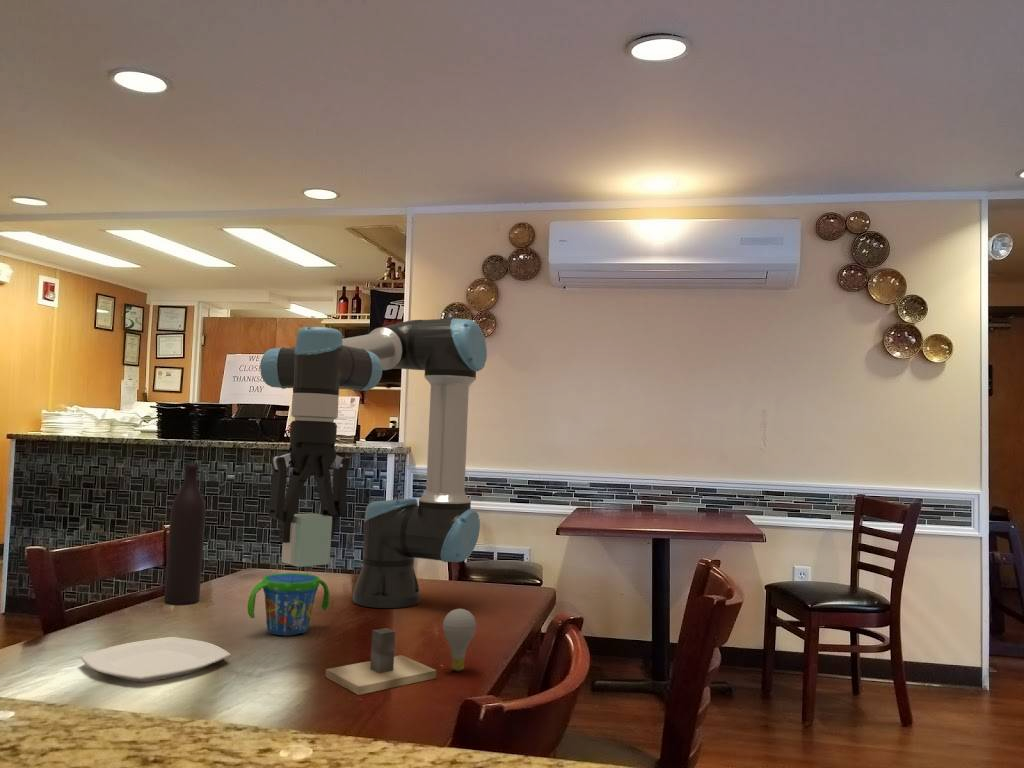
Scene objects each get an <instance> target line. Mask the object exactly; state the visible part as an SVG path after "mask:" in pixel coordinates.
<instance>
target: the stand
mask: <svg viewBox="0 0 1024 768" xmlns="http://www.w3.org/2000/svg"><path fill="white" fill-rule="evenodd" d="M371 631H372V632H371V647H370V648H371V649H370V660H367V661H363V662H362V661H361V662H357V663H352V664H346V665H342V666H341V665H340V666H337V667H331V668H326V669H325V678H327V679H328V680H330V681H331V682H334V683H335V684H338V685H339V686H341V687H343V688H345V689H347V690H349V691H350V692H352V693H354V694H356V695H358V696H360V695H365V694H369V693H375V692H379V691H383V690H387V689H392V688H397V687H401V686H407V685H411V684H415V683H420V682H425V681H428V680H434V679H437V669H434V668H432V667H430V666H427V665H426V664H424V663H420V662H418V661H417V660H415V659H414V660H413V659H412V658H409V657H407V656H404V655H403V654H402V655H396V656H395V643H396V642H395V641H396V631H395V630H393V629H391V628H388V627H384V628H378V629H372V630H371Z"/></svg>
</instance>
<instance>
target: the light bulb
mask: <svg viewBox="0 0 1024 768" xmlns="http://www.w3.org/2000/svg"><path fill="white" fill-rule="evenodd" d="M442 630H443V631H442V632H443V635H444V637H445V638H446V640H447V642H448V644H449V647H450V651H451V654H450V657H451V666H450V667H451V669H452V670H453V671H455V672H457V673H458V672H461V670H464V669H465V657H466V650H467V648H468V646H469V644H470V643H471V641H472V639H473V638H474V636H475V635H476V634H475V633H476V630H477V621H476V618H475V616H474V615H473V614H472V613H471V611H469V610H466V609H465V608H456V609H452V610H451V611H449V612H447V614H446V616H445V617H444V619H443V623H442Z"/></svg>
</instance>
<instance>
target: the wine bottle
mask: <svg viewBox="0 0 1024 768" xmlns="http://www.w3.org/2000/svg"><path fill="white" fill-rule="evenodd" d="M183 466H184V467H183V470H184V478H183V479H184V480H183V482H182V483H183V484H182V485H181V488H180V489H179V491H178V492H177V494H176V496H175V498H173V499H174V500H173V502H172V504H171V507H170V516H169V527H168V529H169V530H168V541H167V553H166V555H167V557H166V558H167V559H166V570H165V581H164V584H165V585H164V596H163V600H164V603H166V604H169V605H176V606H177V605H178V606H179V605H189V604H190V605H191V604H194V603H196V602H199V600H200V596H201V594H200V593H201V581H202V568H203V554H204V541H205V540H204V538H205V526H206V504H205V503H206V502H205V499H204V497H203V495H202V493H201V491H200V488H199V485H198V471H199V469H200V468H199V467H200V465H199V463H198V462H185V464H184V465H183Z"/></svg>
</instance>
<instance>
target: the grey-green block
mask: <svg viewBox="0 0 1024 768" xmlns="http://www.w3.org/2000/svg"><path fill="white" fill-rule="evenodd" d="M292 522H294V523H297V527H296V543H295V559H294V564H289V565H291V566H295V567H297V568H303V567H311V566H312V567H313V566H322V565H330V559H331V558H330V557H331V546H332V545H331V542H332V539H331V530H332V516H326V515H323V514H322V513H316V512H315V513H314V512H312V513H309V512H308V513H295V514H294V517H293V520H292ZM281 546H282V548H281V552H282V551H283V543H282V545H281ZM280 561H281V563H283V562H282V559H281V560H280Z"/></svg>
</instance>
